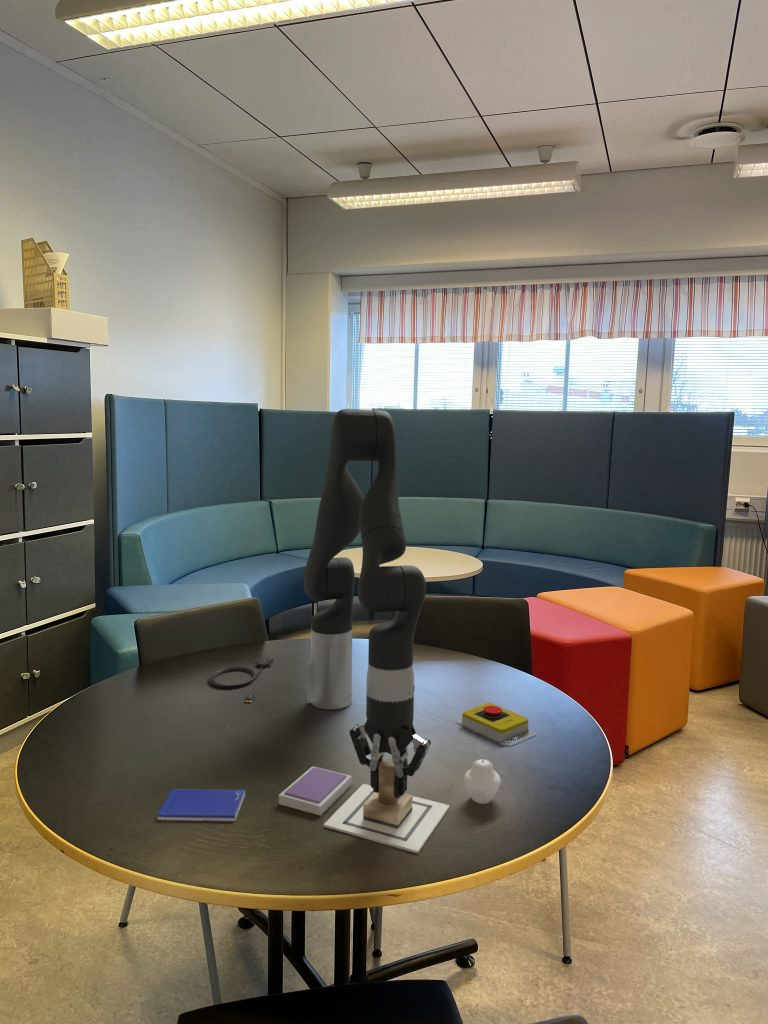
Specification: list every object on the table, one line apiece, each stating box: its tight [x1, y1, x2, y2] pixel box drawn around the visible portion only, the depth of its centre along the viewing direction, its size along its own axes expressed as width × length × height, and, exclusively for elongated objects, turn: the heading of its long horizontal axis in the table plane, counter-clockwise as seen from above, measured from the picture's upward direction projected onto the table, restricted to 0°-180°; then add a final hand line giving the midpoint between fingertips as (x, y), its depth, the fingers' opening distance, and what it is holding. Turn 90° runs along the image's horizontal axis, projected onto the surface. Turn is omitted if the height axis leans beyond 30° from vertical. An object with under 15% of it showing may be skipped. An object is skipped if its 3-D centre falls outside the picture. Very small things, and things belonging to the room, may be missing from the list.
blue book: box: [157, 788, 246, 822], centre depth 117 cm, size 2×8×12 cm
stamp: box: [363, 759, 413, 829], centre depth 114 cm, size 6×6×9 cm
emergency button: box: [456, 702, 537, 747], centre depth 148 cm, size 9×4×15 cm
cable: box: [208, 657, 274, 704], centre depth 174 cm, size 14×28×2 cm, turn 179°
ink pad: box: [278, 766, 353, 816], centre depth 121 cm, size 8×11×2 cm
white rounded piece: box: [463, 759, 502, 805], centre depth 120 cm, size 6×6×7 cm
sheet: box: [323, 783, 451, 854], centre depth 114 cm, size 16×14×1 cm
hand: (388, 792), depth 114 cm, fingers closed on stamp, 3 cm apart
